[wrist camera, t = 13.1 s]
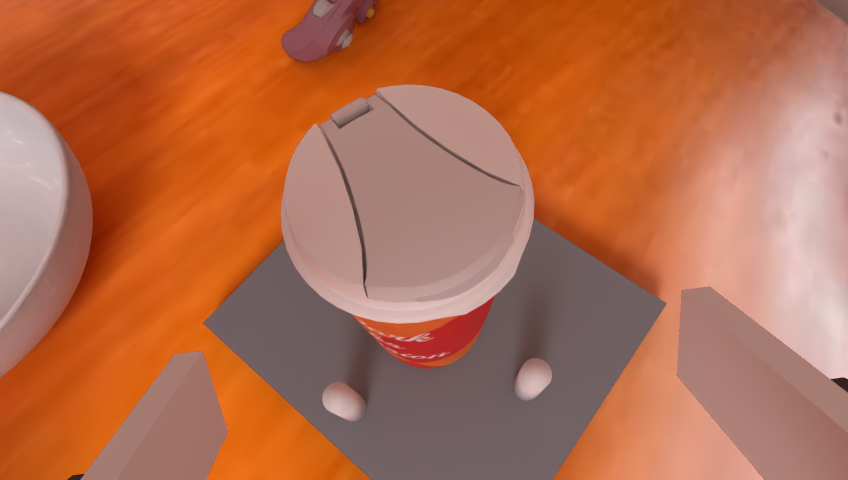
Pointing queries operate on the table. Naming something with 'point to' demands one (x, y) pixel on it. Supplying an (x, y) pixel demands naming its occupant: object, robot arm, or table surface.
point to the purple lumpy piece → (326, 28)
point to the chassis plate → (450, 367)
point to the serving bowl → (37, 227)
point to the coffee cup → (409, 217)
